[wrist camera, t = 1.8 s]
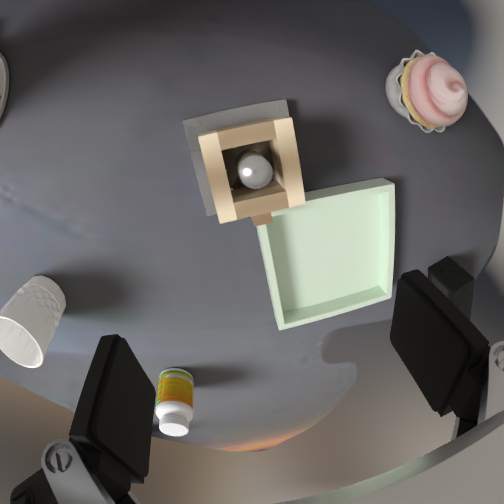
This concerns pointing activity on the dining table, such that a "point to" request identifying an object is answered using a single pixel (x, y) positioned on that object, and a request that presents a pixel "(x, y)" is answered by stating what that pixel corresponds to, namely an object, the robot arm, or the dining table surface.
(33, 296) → the white cup
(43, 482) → the robot arm
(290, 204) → the wooden square frame
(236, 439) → the dining table surface
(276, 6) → the dining table surface
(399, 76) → the cupcake
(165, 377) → the supplement bottle
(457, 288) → the digital camera
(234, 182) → the grey stand
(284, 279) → the tray
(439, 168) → the dining table surface
